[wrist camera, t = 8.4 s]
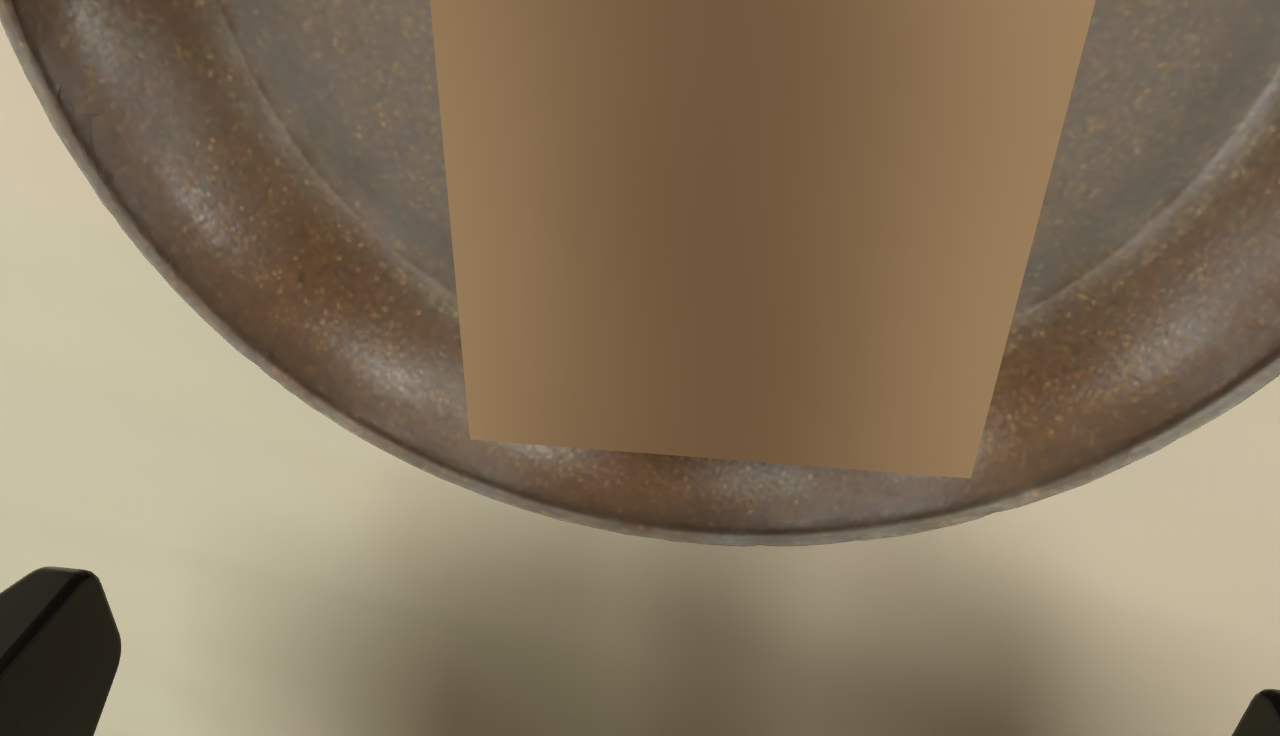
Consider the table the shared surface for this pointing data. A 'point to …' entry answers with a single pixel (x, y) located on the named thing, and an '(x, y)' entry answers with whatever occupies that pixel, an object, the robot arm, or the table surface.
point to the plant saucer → (641, 482)
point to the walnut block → (747, 219)
